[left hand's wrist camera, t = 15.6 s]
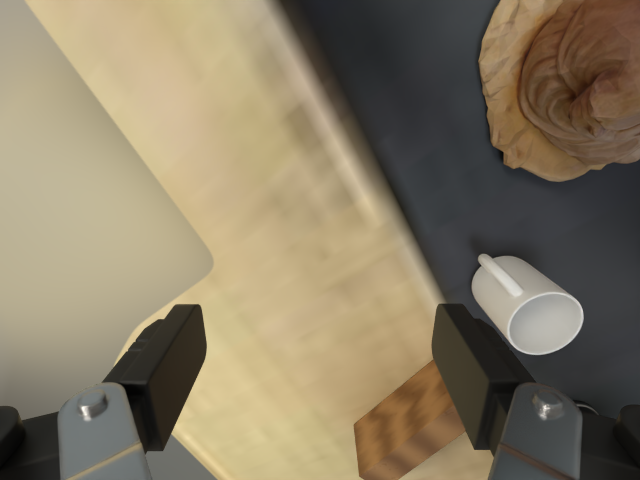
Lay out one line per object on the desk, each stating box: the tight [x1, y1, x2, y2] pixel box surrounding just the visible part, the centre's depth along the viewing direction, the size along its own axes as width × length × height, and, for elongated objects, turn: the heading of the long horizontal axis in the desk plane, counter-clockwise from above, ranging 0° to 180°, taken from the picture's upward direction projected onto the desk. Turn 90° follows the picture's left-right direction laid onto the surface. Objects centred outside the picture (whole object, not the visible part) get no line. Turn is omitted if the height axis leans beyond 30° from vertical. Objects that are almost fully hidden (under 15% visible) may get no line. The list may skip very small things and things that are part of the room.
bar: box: [354, 360, 466, 480], centre depth 51 cm, size 24×5×9 cm, turn 139°
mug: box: [472, 254, 583, 355], centre depth 42 cm, size 12×8×10 cm
